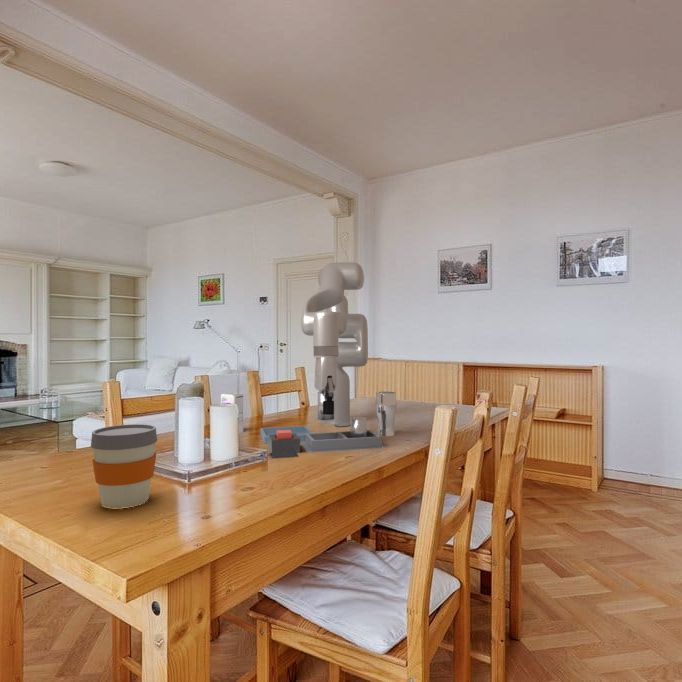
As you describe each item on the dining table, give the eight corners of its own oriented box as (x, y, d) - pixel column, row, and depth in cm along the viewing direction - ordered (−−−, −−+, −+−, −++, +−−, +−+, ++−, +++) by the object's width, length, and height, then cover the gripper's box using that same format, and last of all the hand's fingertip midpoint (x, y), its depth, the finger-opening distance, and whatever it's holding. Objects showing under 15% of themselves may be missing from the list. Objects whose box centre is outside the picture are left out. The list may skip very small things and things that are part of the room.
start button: (276, 440, 142) (276, 430, 142) (290, 439, 143) (290, 429, 143) (278, 443, 138) (277, 433, 138) (292, 442, 139) (291, 432, 139)
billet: (316, 417, 147) (316, 391, 147) (332, 417, 148) (332, 391, 148) (319, 420, 142) (319, 393, 142) (336, 419, 143) (336, 392, 143)
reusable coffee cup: (89, 516, 92) (88, 438, 92) (93, 496, 104) (92, 426, 104) (159, 507, 97) (158, 432, 97) (156, 489, 109) (155, 422, 109)
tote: (260, 436, 164) (260, 428, 164) (305, 434, 168) (305, 425, 168) (264, 447, 149) (264, 437, 149) (314, 444, 153) (314, 434, 153)
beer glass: (396, 435, 166) (396, 391, 166) (396, 439, 159) (396, 393, 159) (375, 434, 166) (375, 391, 166) (375, 439, 160) (375, 393, 159)
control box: (269, 451, 143) (268, 434, 143) (295, 449, 145) (295, 433, 145) (271, 458, 136) (271, 440, 136) (300, 456, 138) (300, 438, 137)
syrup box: (220, 437, 165) (219, 394, 164) (230, 433, 170) (230, 392, 170) (234, 438, 162) (233, 395, 162) (244, 434, 168) (243, 393, 168)
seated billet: (348, 442, 150) (348, 417, 150) (364, 441, 151) (364, 416, 151) (353, 446, 145) (352, 419, 145) (369, 445, 146) (368, 418, 146)
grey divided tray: (300, 446, 150) (300, 433, 150) (374, 441, 156) (374, 429, 156) (307, 456, 138) (307, 442, 137) (387, 450, 143) (387, 437, 143)
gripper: (308, 351, 153) (309, 409, 153) (319, 353, 136) (319, 418, 136) (331, 351, 154) (332, 408, 154) (345, 352, 138) (345, 417, 138)
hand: (326, 412), depth 145 cm, fingers closed on billet, 5 cm apart
